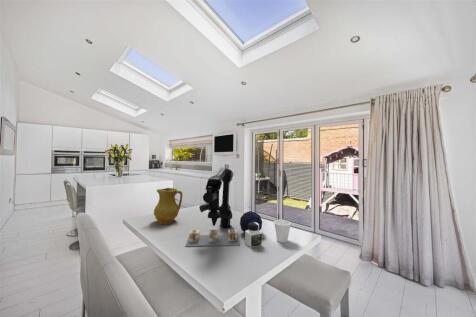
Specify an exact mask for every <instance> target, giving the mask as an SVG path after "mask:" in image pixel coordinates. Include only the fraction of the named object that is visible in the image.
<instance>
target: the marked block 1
mask: <svg viewBox="0 0 476 317" xmlns="http://www.w3.org/2000/svg"><path fill="white" fill-rule="evenodd" d="M189 235H190V237H189V236H188V238H189V242H198V241H199V235H200V229H190V231H189Z"/></svg>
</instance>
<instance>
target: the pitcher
mask: <svg viewBox="0 0 476 317" xmlns="http://www.w3.org/2000/svg"><path fill="white" fill-rule="evenodd" d="M156 192H157V193H158V195H159V196H158V197H159V200H158V202H157V204H156V205H155V208H154V209H153V215H154V219H156V220H157V222H156V223H157V224H158V225H170V224H172V223H175V219H176V218H177V217H178V216H179V215H178V214H179V212H180V209H181V207H182V206H181V205H182V202H183V192H182V191H181V190H179V189H177V188H173V187H166V188H160V189H159V188H158V189H156ZM177 194H180V197H179V202H178V204H177V202H176V195H177Z"/></svg>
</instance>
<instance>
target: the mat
mask: <svg viewBox="0 0 476 317" xmlns="http://www.w3.org/2000/svg"><path fill="white" fill-rule="evenodd" d="M189 237H190V234H189V236H188V238H187V240H186V243H185V248H196V247H202V248H203V247H206V248H207V247H240V246H241V244H240V238H239V235H238V234H237V241H228V234H218V242H209V234H199V241H198V242H189Z"/></svg>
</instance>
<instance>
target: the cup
mask: <svg viewBox="0 0 476 317" xmlns="http://www.w3.org/2000/svg"><path fill="white" fill-rule="evenodd" d="M273 224H274V228H275V229H274V230H275V235H276V236H275V237H276V241H277V242H279V243H281V244H284V243H287V242H288V239H289V234H290V229H291V225H292V223H291V222H290V221H289V220H285V219H276V220H274V221H273Z"/></svg>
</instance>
